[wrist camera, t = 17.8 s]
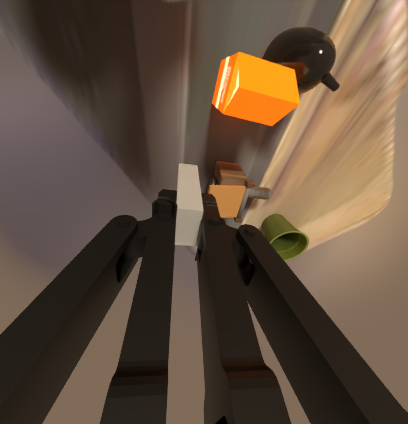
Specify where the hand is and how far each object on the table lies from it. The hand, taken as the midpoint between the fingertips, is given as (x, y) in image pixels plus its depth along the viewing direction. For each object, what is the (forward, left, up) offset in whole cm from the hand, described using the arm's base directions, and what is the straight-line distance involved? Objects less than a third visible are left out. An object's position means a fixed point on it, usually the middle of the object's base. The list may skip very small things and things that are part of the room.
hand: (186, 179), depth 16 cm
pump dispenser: (-12, +18, -33) cm, 39 cm away
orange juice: (-7, +10, -33) cm, 35 cm away
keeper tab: (+14, +11, -21) cm, 27 cm away
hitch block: (+14, +12, -32) cm, 37 cm away
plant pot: (+27, +32, -33) cm, 53 cm away
